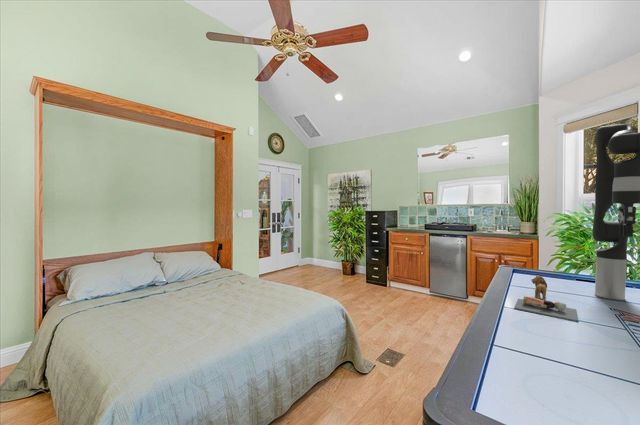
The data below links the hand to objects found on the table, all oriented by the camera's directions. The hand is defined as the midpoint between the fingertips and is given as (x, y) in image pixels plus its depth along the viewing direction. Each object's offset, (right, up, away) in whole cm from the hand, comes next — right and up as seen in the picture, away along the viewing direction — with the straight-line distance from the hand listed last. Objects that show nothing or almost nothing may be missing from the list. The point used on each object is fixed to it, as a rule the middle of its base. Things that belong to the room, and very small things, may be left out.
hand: (625, 235), depth 100 cm
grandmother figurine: (-29, -27, +10) cm, 41 cm away
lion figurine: (-16, -29, +19) cm, 38 cm away
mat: (-24, -29, +6) cm, 38 cm away
